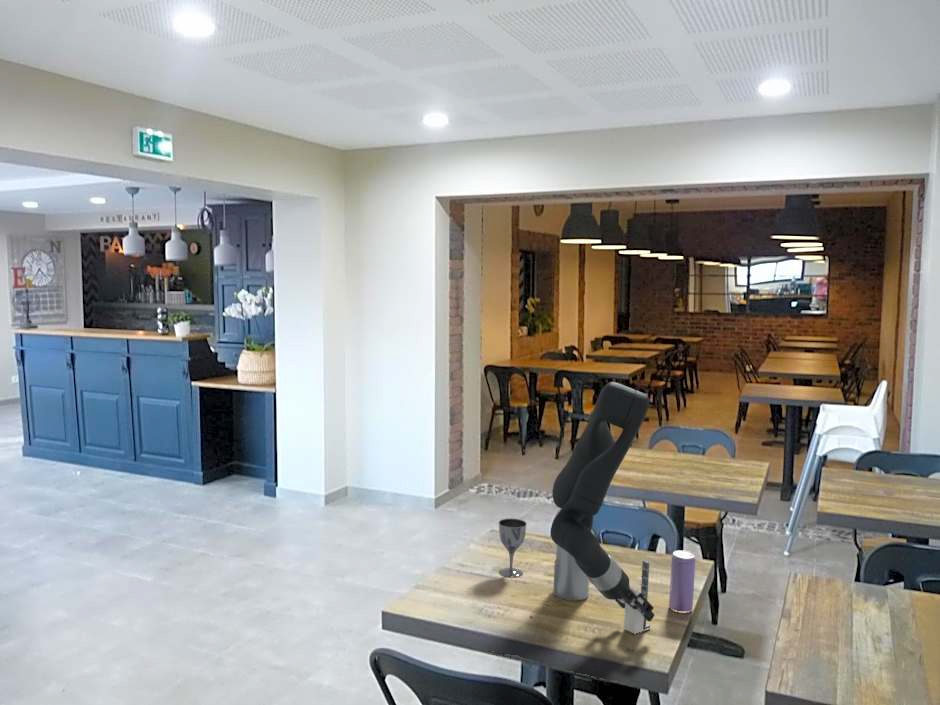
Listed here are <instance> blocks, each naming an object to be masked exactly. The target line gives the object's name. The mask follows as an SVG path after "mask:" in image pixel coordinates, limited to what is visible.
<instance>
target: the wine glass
mask: <svg viewBox="0 0 940 705" xmlns="http://www.w3.org/2000/svg"><path fill="white" fill-rule="evenodd" d="M498 534H499V535H498V536H499V540H500V543H501V544H502V545H503V546H504V548H505V549H506V550H507V552H508V554H509V556H508V557H509V567H505V568H501V569H499V570H498V574H499V575H500V576H501V577H504V578H511V579H512V578H520V577H521V576H523V575H524V571H522V570H521V569H518V568H515V567H513V563H514V562H513V561H514V556H515V553H516V551H517V550H518V549H519V548H520V547H521V546H522V545H523V543H524V542H525V538H526V534H527V522H526V521H525V520H523V519H519V518H512V517H511V518H503V519H500V520H499V521H498Z"/></svg>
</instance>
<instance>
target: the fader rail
mask: <svg viewBox="0 0 940 705" xmlns="http://www.w3.org/2000/svg"><path fill="white" fill-rule="evenodd" d="M640 569H641V575H640V576H641V583H640V586H641V587H640V588H641V589H640V593H642V594H644V595H645V599H646V600H647V601H648V597H649V596H648V593H649V575H650V574H649V573H650V562H649V561H646V560H643V561H642V565H641V568H640ZM647 628H650V629H651V625H649V624H648V623H647V620H646V619H645V618H644V623H643V629H644V630H645V629H647Z"/></svg>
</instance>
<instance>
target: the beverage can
mask: <svg viewBox="0 0 940 705" xmlns="http://www.w3.org/2000/svg"><path fill="white" fill-rule="evenodd" d="M695 571H696V555H695V554H694V553H693V552H691V551H687V550H675V551H673V552H672V556H671V565H670V581H669V582H670V583H669V599H668V600H669V601H668V607H669V608H672V609H674V610H677V611H690V610H691V611H693V605H694V591H695V590H694V589H695V573H696V572H695Z"/></svg>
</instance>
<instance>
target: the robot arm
mask: <svg viewBox="0 0 940 705" xmlns="http://www.w3.org/2000/svg"><path fill="white" fill-rule="evenodd" d="M649 406H650V398H649V396H648V395H647V394H646V393H644V392H641V391H640V390H637V389H634V388H632V387H629V386H626V385H624V384H622V383H620V382H616V381H615V382H614V381H609V382H607V383H606V384H605V386H603V387H602V389H601V391H600V392H599V394H598V397H597V400H596V402H595V405H594V407H593V410H592V412H591V415H590V417H589V420H588V422H587V424H586V426H585V428H584V430H583V431H582V433H581V435H580V437H579V439H578V440H577V442H576V444H575V446H574V448H573V450H572V453H571V455H570V457H569V459H568V461H567V462H566V464H565V465H564V467H563V468H562V469H561V471H560V472H559V473H558V474H557V476H556V478H555V481H554V483H553V486H552V500H553V502H554V504H555V506H556V507H557V508H559V509H560V511H559V512H558V513H557V515H556V516H555V518H554V519H553V520H552V523H551V528H550V538H551V539H552V541H553V542H554V544H555V545H556V548H555V549H556V553H555V560H554V566H553V568H554V569H553V570H554V571H553V588H552V591H553V593H552V595H553V597H558V598H560V599H563V600H567V601H574V602H575V601H583V600H585V599H587V598H588V597H589V592H590V583H591V584H592V585H593V586H594V587H595V588H596V589H597V591H599V593H600V594H601V595H602V596H603V597H604V598H606V599H607V600H612V601H615V602H616V603H617V605H619V606H620V607H621V608H623V609H625V604H626V605H627V606H629V607H630V608H631V609H633V610H635V609H636V610H637V611H638V612H640V614H642V615H643V616H644V618H645V619H646V622H648V623H649V622H651V621H652V620H653V619H654V617H655V614H654V612H653V610H654V609H655V608H654V606H653V605H652V603H650V602H649V601H648V599H647V600H646V599H645V598H644V596H643V595H642V594H639V595H638V594H637V593H635V592H634V591H633V590H634V589H633V588H632V587H631V586H630V578H629V575H628V574H627V573H626V571H625V570H624V569H623V568H622V567H621V566H620V565H619V564H618V563H617V562H616V560H615V559H614V558H613V557H612V556H610V555H609V553H607V551H606V550H605V549H604V548H603V547H602V546H601V544H600V542H599V540H598V538H597V537H596V535H595V534H594V532H592V531H593V530H592V529H593V527H594V526H593V525H594V516H595V515H597V514H599V511H600V510H601V507H602V505H603V502H604V500H605V497H606V495H607V492H608V490H609V487H610V485H611V483H612V481H613V479H614V478H615V475H616V473H617V472H618V469H619V467H620V466H621V464H622V462H623V460H624V459H625V457H626V455H627V453H628V451H629V449H630V447H631V445H632V444H633V442H634V440H635V439H636V437H637V434H638V432H639V430H640V428H641V427H642V425H643V423H644V420H645V418H646V416H647V412H648V410H649ZM608 424H610V425H613V426H615V427H617V428H620V429H622V431H621V433H620V435H619V437H618V438H617V439H616V440H615V441H614V437H613V435H612V432H611V429H610V428H609V425H608ZM633 600H634V605H631V604H630V603H632V601H633Z"/></svg>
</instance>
